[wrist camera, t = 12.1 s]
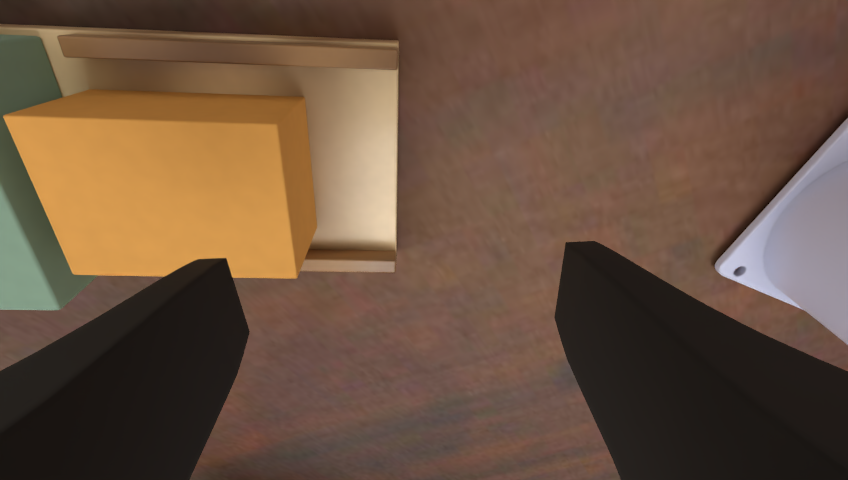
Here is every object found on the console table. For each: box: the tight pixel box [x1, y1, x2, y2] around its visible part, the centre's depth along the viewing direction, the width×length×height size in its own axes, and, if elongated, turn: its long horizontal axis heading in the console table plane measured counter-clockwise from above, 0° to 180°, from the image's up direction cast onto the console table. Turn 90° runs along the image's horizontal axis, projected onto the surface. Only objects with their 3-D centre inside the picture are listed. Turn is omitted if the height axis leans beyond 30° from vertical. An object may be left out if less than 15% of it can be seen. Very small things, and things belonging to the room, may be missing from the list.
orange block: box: [3, 89, 317, 278], centre depth 14 cm, size 7×5×4 cm
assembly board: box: [0, 24, 399, 273], centre depth 15 cm, size 17×8×2 cm, turn 88°
